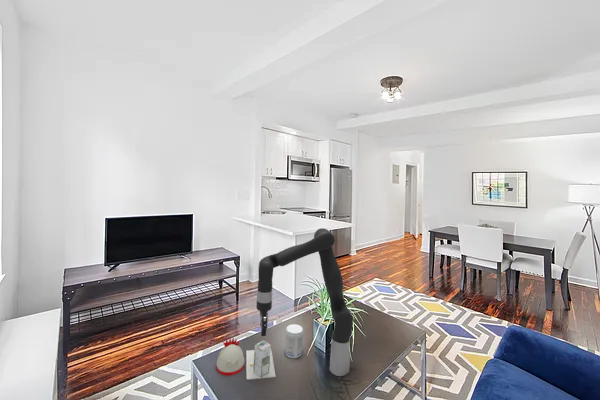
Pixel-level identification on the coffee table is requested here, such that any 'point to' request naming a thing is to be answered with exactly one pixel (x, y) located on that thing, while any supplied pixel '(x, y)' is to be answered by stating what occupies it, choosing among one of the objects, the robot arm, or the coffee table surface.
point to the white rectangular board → (249, 369)
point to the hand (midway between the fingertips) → (262, 330)
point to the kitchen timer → (230, 359)
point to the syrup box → (262, 358)
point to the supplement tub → (294, 341)
